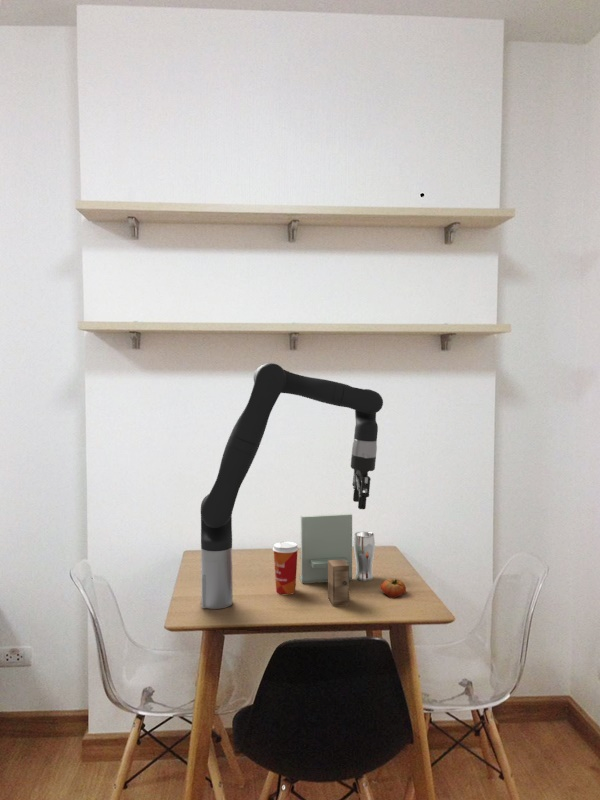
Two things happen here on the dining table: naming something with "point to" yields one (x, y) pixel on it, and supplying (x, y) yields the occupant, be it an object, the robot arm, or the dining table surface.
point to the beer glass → (364, 555)
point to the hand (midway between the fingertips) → (359, 505)
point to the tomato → (393, 587)
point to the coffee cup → (285, 566)
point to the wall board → (324, 545)
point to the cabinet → (338, 582)
